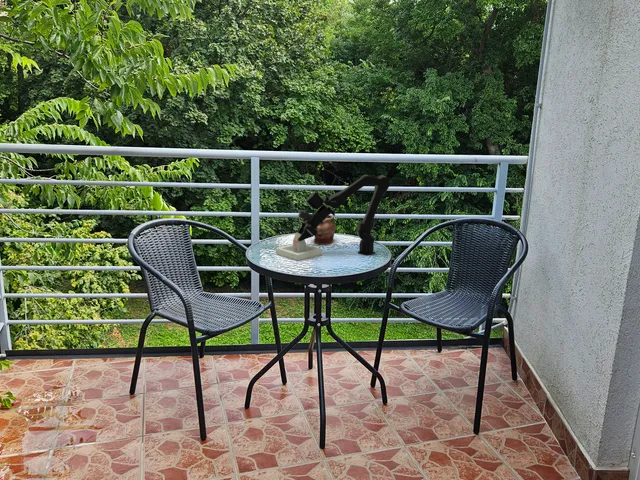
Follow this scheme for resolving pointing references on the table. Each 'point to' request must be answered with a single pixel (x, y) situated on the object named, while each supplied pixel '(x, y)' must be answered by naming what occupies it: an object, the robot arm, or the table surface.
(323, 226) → the decorative planter
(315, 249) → the housing tray
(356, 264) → the table surface
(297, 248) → the tea bag
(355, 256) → the table surface
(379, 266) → the table surface
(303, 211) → the robot arm
